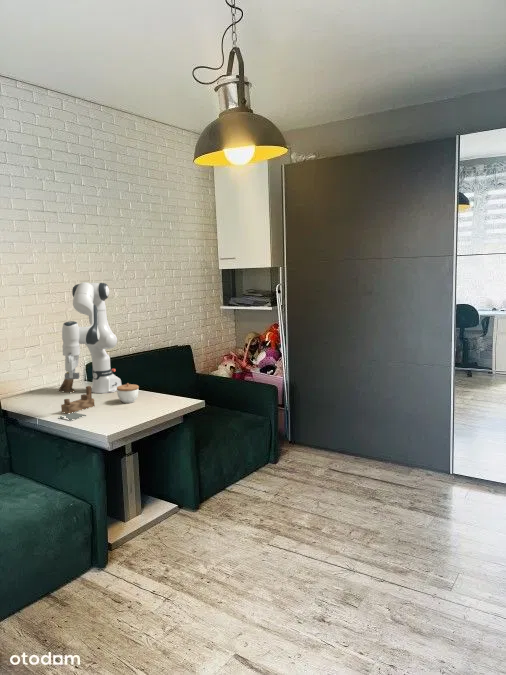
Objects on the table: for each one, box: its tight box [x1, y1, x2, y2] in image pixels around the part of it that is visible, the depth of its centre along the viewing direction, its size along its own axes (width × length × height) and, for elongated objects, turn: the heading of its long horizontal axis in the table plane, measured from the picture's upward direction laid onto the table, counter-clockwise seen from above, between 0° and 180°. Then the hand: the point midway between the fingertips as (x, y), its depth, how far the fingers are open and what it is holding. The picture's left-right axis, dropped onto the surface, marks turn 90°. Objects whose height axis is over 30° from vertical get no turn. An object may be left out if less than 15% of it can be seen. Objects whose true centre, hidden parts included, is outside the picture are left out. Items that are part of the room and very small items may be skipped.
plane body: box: [60, 385, 95, 414], centre depth 279 cm, size 18×6×12 cm, turn 150°
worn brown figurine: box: [58, 378, 76, 393], centre depth 321 cm, size 12×6×18 cm, turn 56°
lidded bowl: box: [116, 382, 140, 404], centre depth 295 cm, size 13×13×11 cm
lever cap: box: [64, 372, 80, 380], centre depth 269 cm, size 7×4×4 cm, turn 101°
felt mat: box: [59, 412, 87, 421], centre depth 265 cm, size 10×10×1 cm
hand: (72, 376), depth 270 cm, fingers closed on lever cap, 4 cm apart
